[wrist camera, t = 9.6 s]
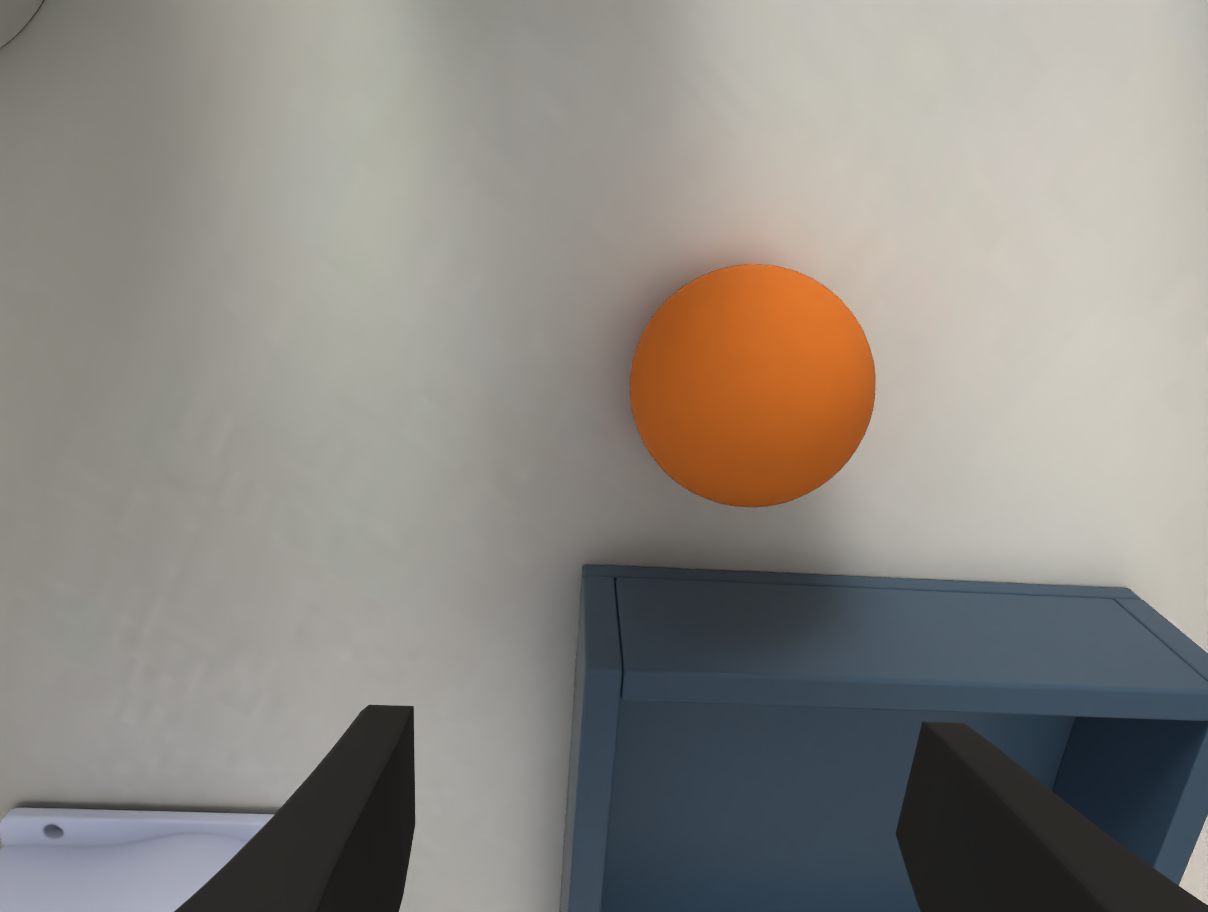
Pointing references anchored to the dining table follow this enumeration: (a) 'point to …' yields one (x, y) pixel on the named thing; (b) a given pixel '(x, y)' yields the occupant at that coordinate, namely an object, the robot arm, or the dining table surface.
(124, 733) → the dining table surface
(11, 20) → the lumpy-topped squat cylinder
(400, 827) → the robot arm
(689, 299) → the ball
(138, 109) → the dining table surface
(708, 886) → the tray
